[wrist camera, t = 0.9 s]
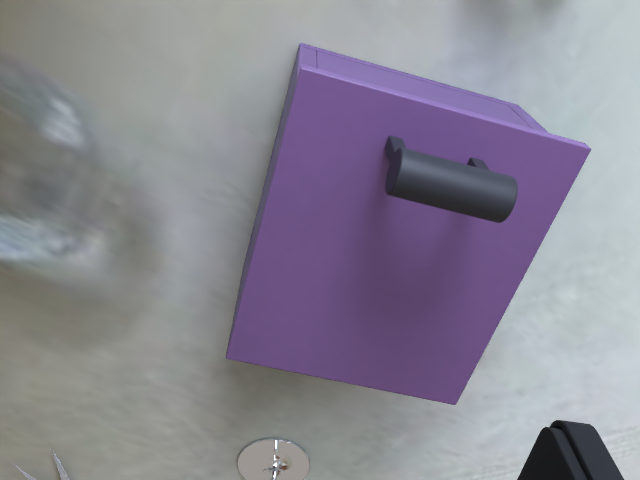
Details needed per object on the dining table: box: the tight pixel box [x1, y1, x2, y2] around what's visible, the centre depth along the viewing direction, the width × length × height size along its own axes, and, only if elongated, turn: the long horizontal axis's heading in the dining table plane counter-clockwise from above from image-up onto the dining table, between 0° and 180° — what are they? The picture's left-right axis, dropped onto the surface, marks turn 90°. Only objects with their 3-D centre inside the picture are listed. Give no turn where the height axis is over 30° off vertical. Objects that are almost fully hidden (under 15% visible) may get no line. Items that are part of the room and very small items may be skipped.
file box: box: [228, 43, 548, 345], centre depth 35 cm, size 16×14×9 cm
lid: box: [226, 64, 591, 405], centre depth 28 cm, size 17×14×5 cm
